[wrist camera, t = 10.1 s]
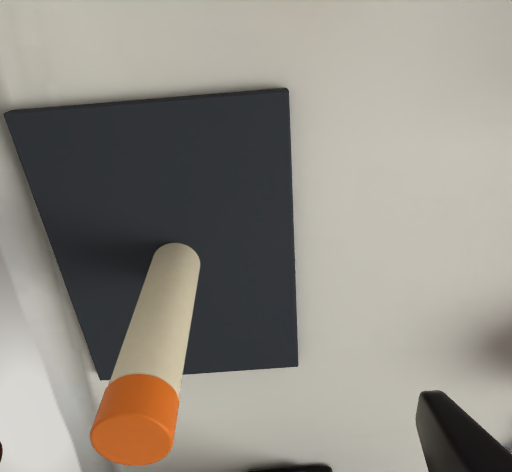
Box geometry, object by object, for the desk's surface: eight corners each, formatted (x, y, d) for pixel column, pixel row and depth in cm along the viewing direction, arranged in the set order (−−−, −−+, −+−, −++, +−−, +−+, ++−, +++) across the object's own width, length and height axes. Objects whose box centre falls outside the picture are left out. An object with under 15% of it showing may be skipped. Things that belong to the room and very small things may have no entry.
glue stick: (204, 280, 22) (178, 464, 14) (156, 284, 22) (101, 469, 14) (197, 239, 21) (164, 412, 12) (147, 243, 21) (79, 418, 12)
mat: (297, 359, 26) (298, 367, 26) (102, 373, 26) (99, 380, 26) (287, 87, 18) (289, 90, 18) (9, 110, 18) (2, 113, 18)
